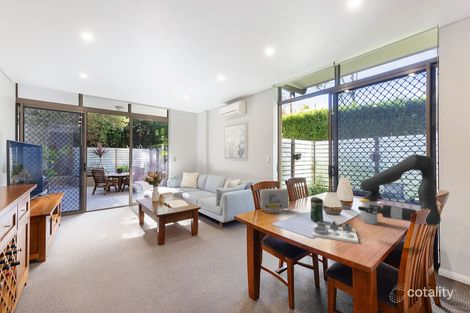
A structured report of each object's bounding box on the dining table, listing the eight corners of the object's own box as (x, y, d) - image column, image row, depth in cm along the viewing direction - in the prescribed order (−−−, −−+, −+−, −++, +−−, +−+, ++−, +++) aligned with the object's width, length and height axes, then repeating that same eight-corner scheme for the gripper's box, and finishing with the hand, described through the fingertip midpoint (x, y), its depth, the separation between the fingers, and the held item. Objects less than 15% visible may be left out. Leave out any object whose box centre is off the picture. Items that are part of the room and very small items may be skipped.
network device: (286, 208, 197) (286, 188, 197) (289, 211, 188) (289, 190, 188) (260, 209, 195) (260, 189, 195) (262, 212, 187) (261, 190, 186)
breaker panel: (314, 225, 151) (314, 217, 151) (354, 231, 140) (354, 221, 140) (312, 236, 133) (312, 226, 133) (358, 243, 122) (358, 232, 122)
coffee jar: (325, 222, 158) (324, 198, 158) (316, 223, 157) (315, 199, 156) (317, 218, 168) (317, 196, 167) (309, 219, 166) (308, 196, 166)
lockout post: (359, 216, 133) (359, 198, 133) (368, 217, 131) (368, 199, 131) (360, 219, 129) (360, 200, 128) (370, 220, 126) (370, 200, 126)
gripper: (394, 203, 125) (362, 199, 137) (390, 208, 115) (356, 203, 126) (394, 215, 125) (362, 210, 137) (390, 221, 115) (356, 215, 127)
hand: (359, 207), depth 132 cm, fingers closed on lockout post, 5 cm apart
